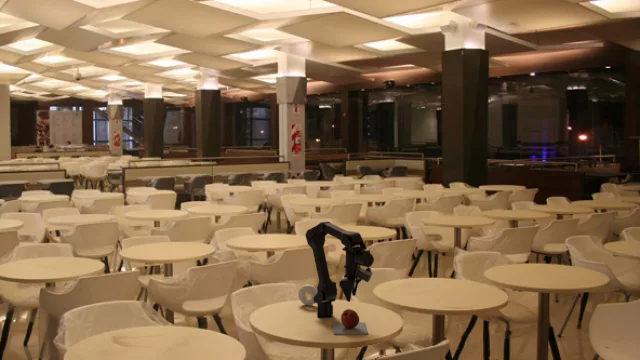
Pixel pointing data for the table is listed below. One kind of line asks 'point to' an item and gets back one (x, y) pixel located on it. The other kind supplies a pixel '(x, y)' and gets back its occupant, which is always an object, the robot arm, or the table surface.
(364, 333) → the mat
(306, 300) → the donut
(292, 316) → the table surface
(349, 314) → the apple
